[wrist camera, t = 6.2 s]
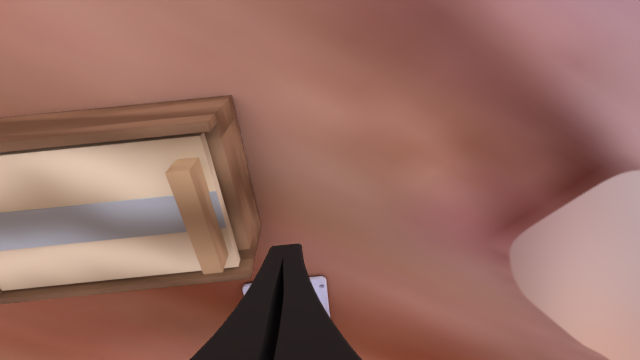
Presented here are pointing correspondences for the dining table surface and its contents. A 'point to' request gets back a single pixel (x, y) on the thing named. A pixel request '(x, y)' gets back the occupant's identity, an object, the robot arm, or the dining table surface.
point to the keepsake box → (144, 123)
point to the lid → (112, 212)
